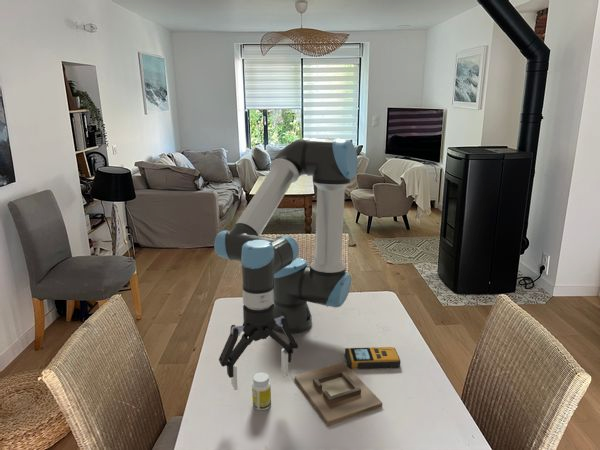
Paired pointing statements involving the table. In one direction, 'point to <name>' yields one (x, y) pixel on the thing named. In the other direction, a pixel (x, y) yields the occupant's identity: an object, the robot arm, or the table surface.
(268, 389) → the supplement bottle
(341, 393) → the board
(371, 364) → the electronic device
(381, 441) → the table surface
